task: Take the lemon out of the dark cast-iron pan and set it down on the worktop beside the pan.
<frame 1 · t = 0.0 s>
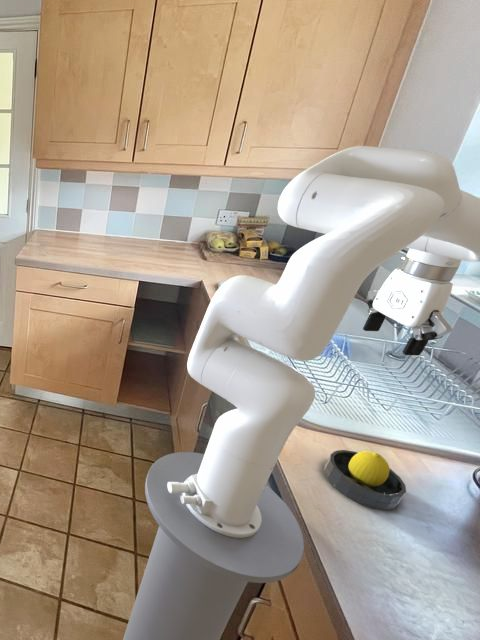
hand: (389, 341, 90), 22 cm above the worktop, tool pointing down, fingers open, 9 cm apart
pan: (359, 484, 83), on the worktop
lemon: (359, 484, 83), resting on pan
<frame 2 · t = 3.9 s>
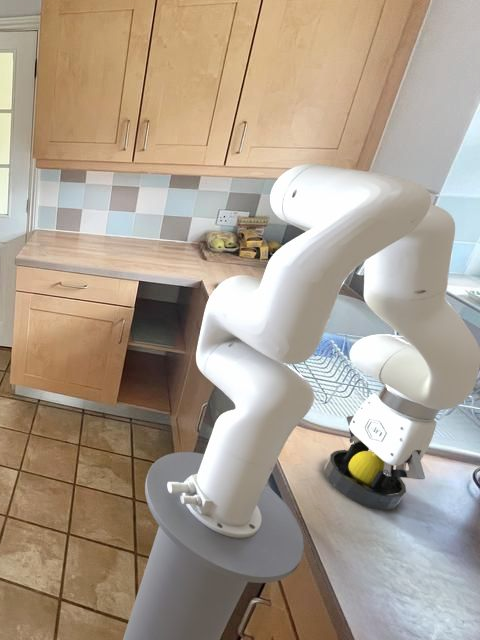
hand: (366, 473, 81), 3 cm above the worktop, tool pointing down, fingers closed on lemon, 5 cm apart
lemon: (359, 484, 83), resting on pan, touching gripper
when the fingers open (3 cm above the worktop, at t = 10.8 s): lemon stays where it is, on the worktop.
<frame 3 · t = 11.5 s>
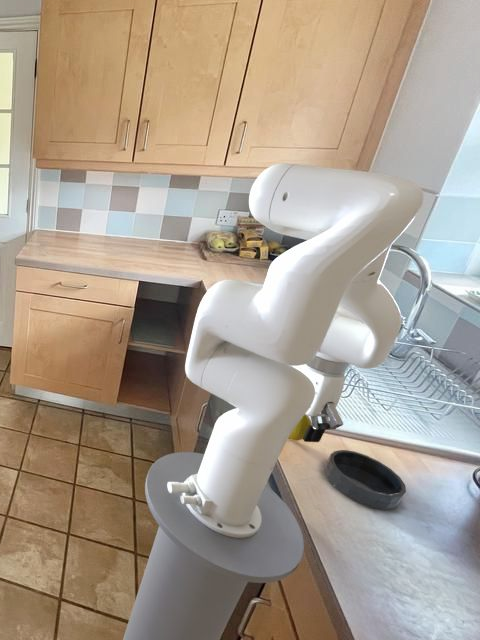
hand: (294, 424, 92), 4 cm above the worktop, tool pointing down, fingers open, 9 cm apart
lemon: (288, 439, 94), on the worktop
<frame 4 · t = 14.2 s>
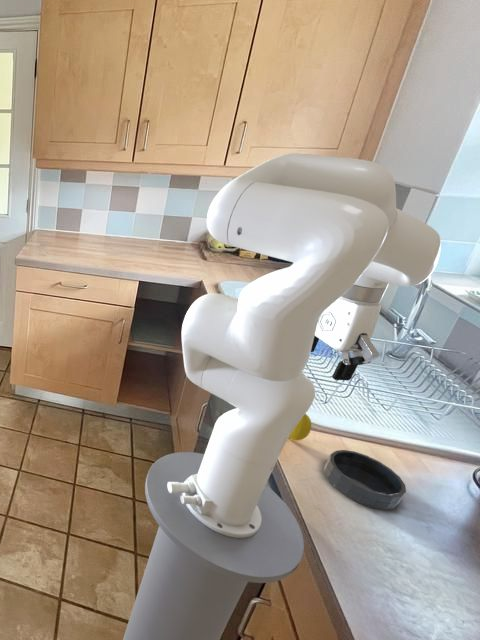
hand: (321, 364, 85), 20 cm above the worktop, tool pointing down, fingers open, 9 cm apart
nothing on the worktop moved.
at the end: lemon inside the target area (0.1 cm from its centre), on the worktop; lemon touching worktop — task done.
